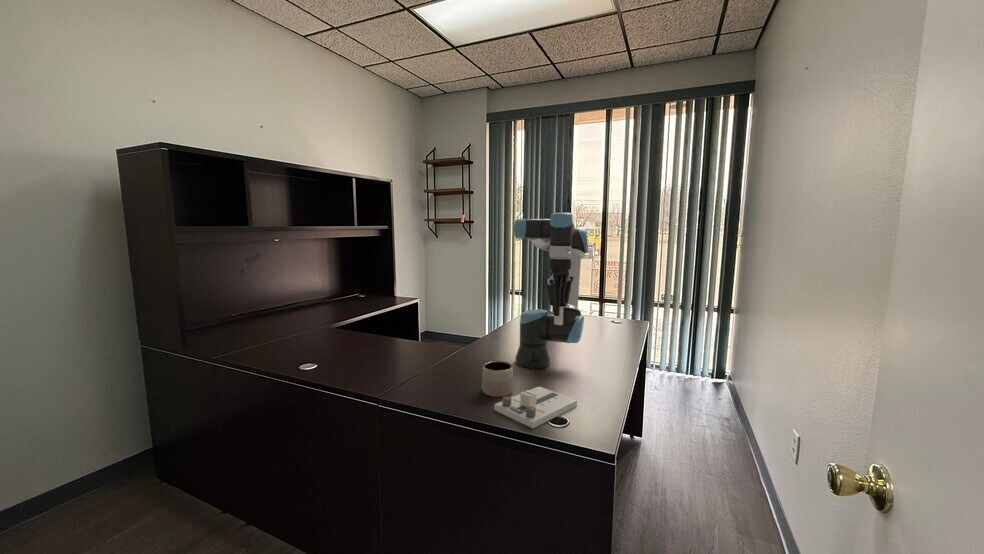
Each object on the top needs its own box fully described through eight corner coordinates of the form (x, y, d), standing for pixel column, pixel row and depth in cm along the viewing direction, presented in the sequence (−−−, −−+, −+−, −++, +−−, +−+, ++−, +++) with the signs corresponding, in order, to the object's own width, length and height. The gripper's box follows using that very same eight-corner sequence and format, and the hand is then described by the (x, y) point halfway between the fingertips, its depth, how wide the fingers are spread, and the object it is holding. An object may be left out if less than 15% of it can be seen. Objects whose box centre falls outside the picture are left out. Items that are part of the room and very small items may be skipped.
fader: (520, 404, 124) (520, 392, 123) (526, 401, 126) (526, 389, 125) (529, 408, 121) (530, 396, 120) (536, 405, 123) (536, 393, 123)
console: (494, 410, 125) (494, 397, 124) (539, 391, 140) (539, 380, 139) (532, 428, 113) (533, 414, 113) (576, 406, 128) (577, 394, 128)
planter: (481, 386, 144) (481, 360, 143) (510, 385, 145) (511, 360, 144) (483, 398, 134) (483, 371, 132) (514, 397, 134) (515, 370, 133)
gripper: (557, 259, 128) (555, 329, 132) (580, 257, 137) (578, 323, 140) (539, 258, 134) (538, 325, 137) (563, 256, 142) (561, 319, 146)
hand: (558, 324), depth 139 cm, fingers closed
